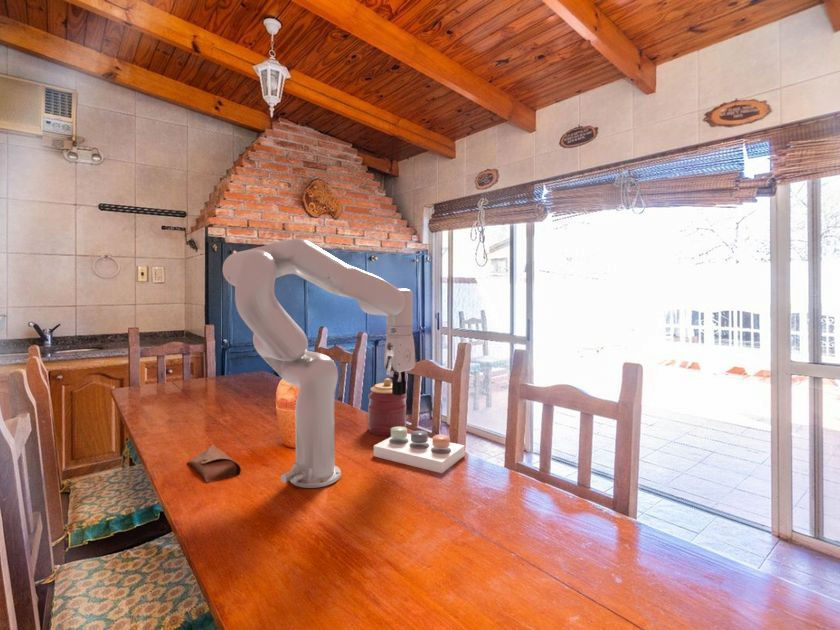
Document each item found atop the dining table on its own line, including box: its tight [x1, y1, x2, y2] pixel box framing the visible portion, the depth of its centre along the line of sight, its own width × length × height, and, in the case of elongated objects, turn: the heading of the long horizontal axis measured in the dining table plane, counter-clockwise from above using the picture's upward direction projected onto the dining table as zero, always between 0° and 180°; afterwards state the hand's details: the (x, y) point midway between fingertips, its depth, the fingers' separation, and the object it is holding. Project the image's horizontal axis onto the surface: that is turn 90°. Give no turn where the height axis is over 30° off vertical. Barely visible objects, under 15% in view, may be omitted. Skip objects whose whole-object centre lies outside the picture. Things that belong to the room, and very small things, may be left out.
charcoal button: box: [410, 430, 429, 443], centre depth 124 cm, size 5×5×2 cm
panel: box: [373, 433, 466, 474], centre depth 124 cm, size 14×22×3 cm, turn 59°
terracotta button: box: [431, 434, 451, 448], centre depth 120 cm, size 5×5×2 cm
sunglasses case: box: [186, 444, 242, 484], centre depth 115 cm, size 18×7×7 cm, turn 45°
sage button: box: [390, 427, 408, 439], centre depth 127 cm, size 5×5×2 cm
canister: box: [367, 377, 407, 437], centre depth 146 cm, size 13×13×18 cm
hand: (399, 393), depth 127 cm, fingers closed
